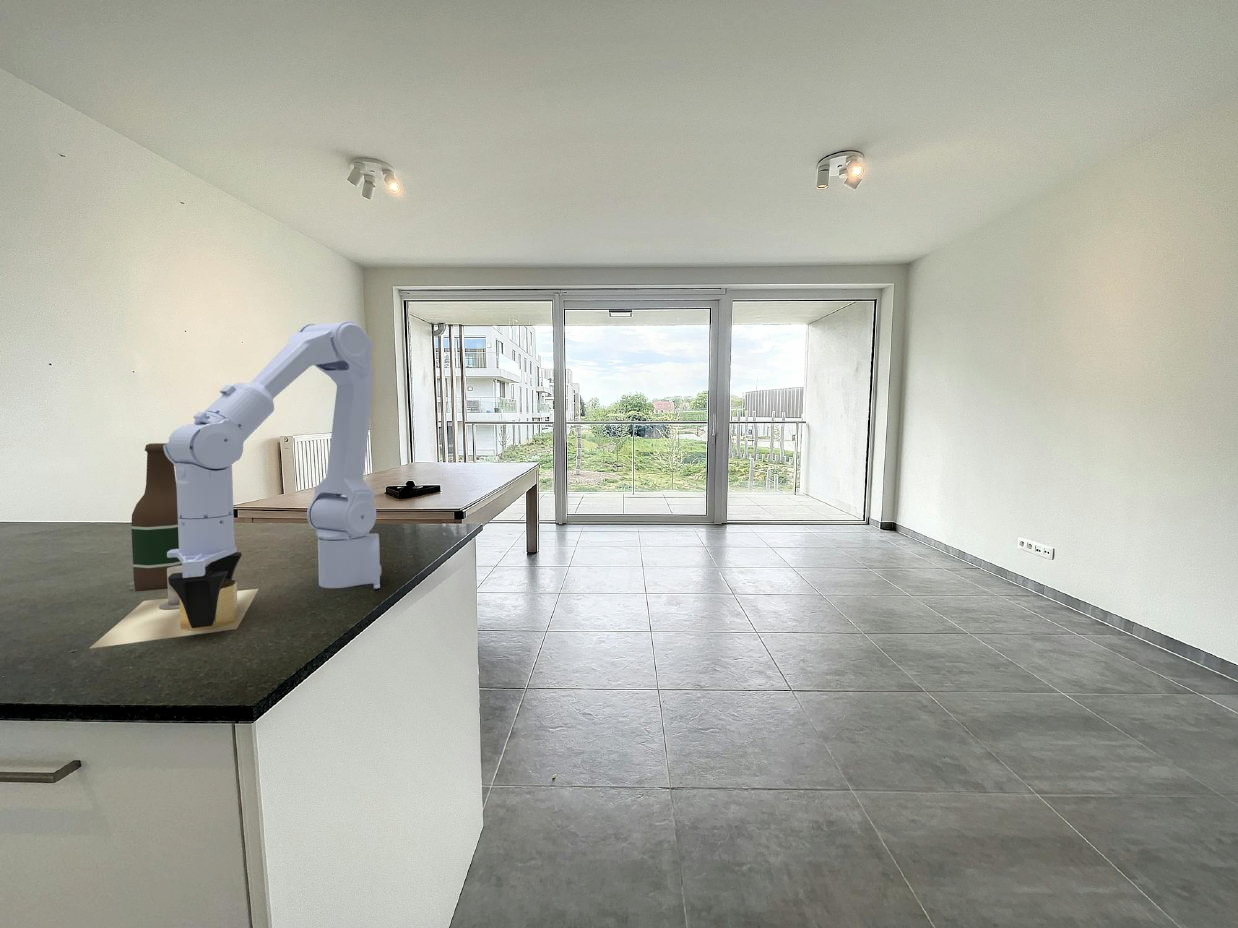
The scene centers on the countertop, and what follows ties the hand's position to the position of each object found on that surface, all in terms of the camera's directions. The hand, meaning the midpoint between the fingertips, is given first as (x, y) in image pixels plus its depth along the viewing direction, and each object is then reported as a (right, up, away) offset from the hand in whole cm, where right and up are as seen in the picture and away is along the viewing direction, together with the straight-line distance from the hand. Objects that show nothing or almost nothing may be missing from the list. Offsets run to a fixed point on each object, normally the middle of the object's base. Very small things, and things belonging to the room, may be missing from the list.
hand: (209, 616), depth 68 cm
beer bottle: (-21, -1, +16) cm, 26 cm away
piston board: (-5, -2, +3) cm, 6 cm away
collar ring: (0, -1, 0) cm, 1 cm away
